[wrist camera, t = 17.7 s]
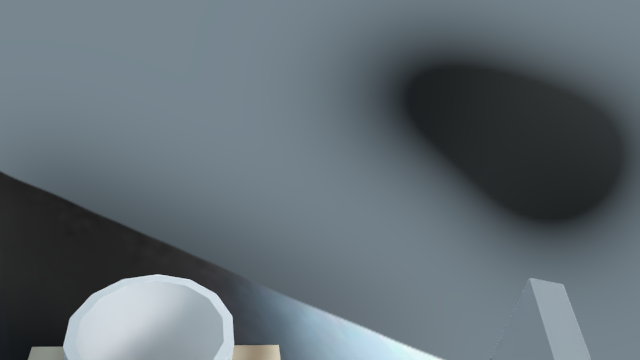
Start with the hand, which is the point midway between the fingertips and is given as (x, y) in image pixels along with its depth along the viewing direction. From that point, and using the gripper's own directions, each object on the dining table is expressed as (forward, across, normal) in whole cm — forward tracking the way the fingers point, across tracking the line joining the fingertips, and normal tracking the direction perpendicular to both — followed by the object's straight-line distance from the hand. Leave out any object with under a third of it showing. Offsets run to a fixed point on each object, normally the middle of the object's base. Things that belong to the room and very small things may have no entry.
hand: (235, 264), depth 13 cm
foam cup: (+13, -6, -31) cm, 34 cm away
